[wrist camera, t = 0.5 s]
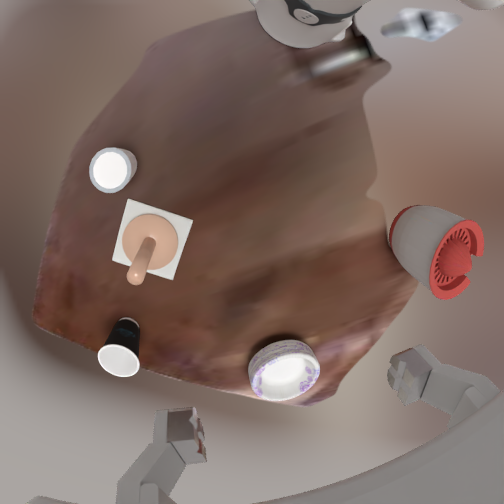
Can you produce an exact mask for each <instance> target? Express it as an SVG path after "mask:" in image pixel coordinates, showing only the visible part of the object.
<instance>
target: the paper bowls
mask: <svg viewBox="0 0 504 504" xmlns="http://www.w3.org/2000/svg"><path fill="white" fill-rule="evenodd" d="M248 373H249V378H250V382H251V387H252V389H253V391H254V393H255V394H256V395H257V396H259V397H260V398H262V399H265V400H269V401H283V400H288V399H291V398H294V397H297V396H299V395H301V394H303V393H304V392H306V391H307V390H308V389H309V388H311V386H312V385H313V384H314V383H315V382H316V380H317V378H318V376H319V373H320V365H319V363H318V361H317V359H316V357H315V355H314V353H313V351H312V350H311V348H310V347H309V346H308V345H307V344H305V343H303V342H301V341H297V340H283V341H278V342H275V343H272V344H270V345H268V346H266V347H264V348H263V349H261V350H260V351H259V352H258V353H256V354H255V356H254V357H253V358H252V360H251V361H250V363H249V367H248Z"/></svg>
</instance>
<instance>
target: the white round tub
mask: <svg viewBox="0 0 504 504" xmlns="http://www.w3.org/2000/svg"><path fill="white" fill-rule="evenodd" d="M89 169H90V178H91V180H92V183H93V185H94V186H95V187H96V188H97V189H98V190H100V191H103V192H105V193H115V192H117V191H119V190H121V189H123V187H124V186H125V185H126V184H127V183H128V182H129V181H130V179H131V178H132V177H133V176H134V174H135V172H136V169H137V161H136V158H135V156H134V155H133V154H132V153H131V152H130V151H128V150H125V149H120V148H105V149H103V150H101V151H99V152H98V153H97V154H96V155H95V156H94V157H93V159H92V161H91V164H90V167H89Z"/></svg>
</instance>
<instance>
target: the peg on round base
mask: <svg viewBox="0 0 504 504" xmlns="http://www.w3.org/2000/svg"><path fill="white" fill-rule="evenodd" d="M122 246H123V250H124V253H125V255H126V256H127V258H128V259H129V260H130V261H131V262H132V264H131V266H130V268H129V271H128V273H127V279H128V281H129V282H130V283H131V284H134V285H139V284H141V283H142V282H143V280H144V277H145V274H146V271H147V270H156V269H160V268H162V267H164V266H166V265H168V264H169V263H170V262H171V261H172V260H173V258H174V257H175V254H176V252H177V248H178V236H177V232H176V230H175V228H174V226H173V225H172V224H171V223H170V222H169V221H168V220H167V219H166V218H164V217H162V216H160V215H157V214H143V215H139V216H137V217H136V218H134V219H133V220H132V221H131V222H130V223H129V224H128V225H127V227H126V228H125V230H124V233H123V236H122Z"/></svg>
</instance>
